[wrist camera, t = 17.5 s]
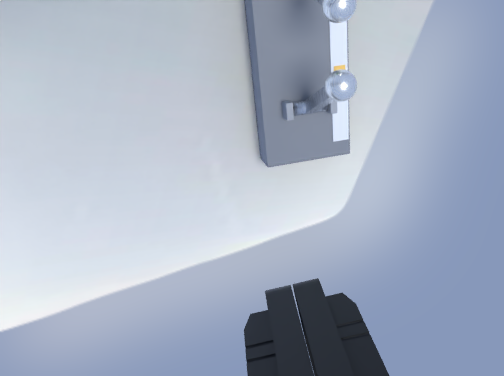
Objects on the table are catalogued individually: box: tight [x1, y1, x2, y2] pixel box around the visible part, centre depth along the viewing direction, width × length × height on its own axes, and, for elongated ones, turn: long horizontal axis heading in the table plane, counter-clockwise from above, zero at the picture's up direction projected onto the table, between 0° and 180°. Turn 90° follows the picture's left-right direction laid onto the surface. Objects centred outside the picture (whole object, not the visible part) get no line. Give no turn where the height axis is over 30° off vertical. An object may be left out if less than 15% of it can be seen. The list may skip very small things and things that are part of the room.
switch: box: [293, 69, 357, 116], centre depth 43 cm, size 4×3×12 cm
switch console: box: [245, 0, 350, 167], centre depth 48 cm, size 11×28×6 cm, turn 6°
